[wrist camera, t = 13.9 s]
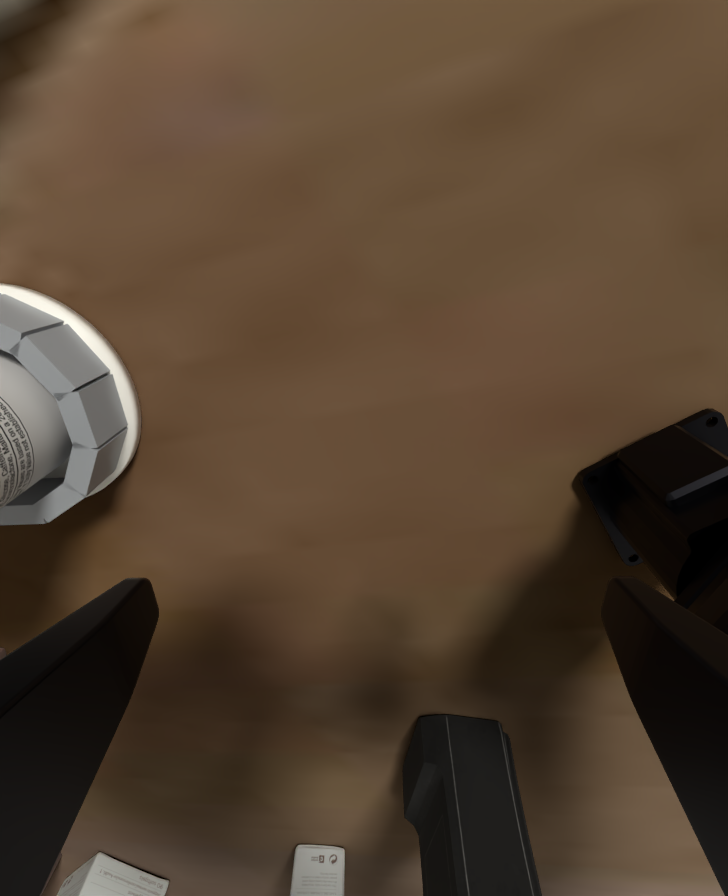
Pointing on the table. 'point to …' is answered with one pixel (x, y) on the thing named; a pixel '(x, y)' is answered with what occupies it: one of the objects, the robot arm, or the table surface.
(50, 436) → the energy drink can
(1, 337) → the dock
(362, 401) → the table surface
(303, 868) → the skincare box
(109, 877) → the supplement box
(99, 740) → the robot arm
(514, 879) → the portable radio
